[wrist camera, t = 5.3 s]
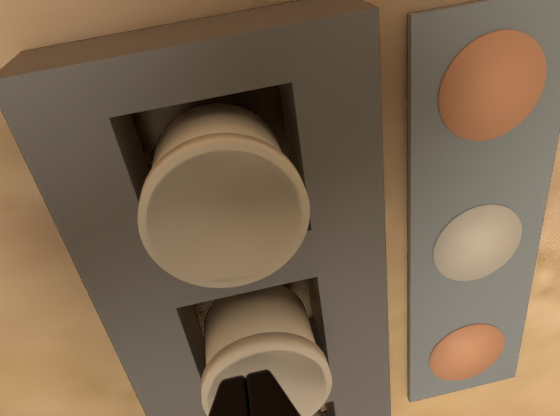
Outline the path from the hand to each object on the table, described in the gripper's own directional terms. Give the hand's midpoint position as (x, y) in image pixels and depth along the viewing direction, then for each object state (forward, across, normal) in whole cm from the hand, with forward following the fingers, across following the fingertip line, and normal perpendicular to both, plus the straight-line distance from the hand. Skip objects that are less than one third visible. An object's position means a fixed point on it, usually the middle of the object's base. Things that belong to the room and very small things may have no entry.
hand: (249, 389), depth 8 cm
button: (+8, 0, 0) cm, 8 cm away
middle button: (+8, 0, +7) cm, 11 cm away
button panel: (+10, 0, +7) cm, 12 cm away
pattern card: (+10, -10, +7) cm, 16 cm away
